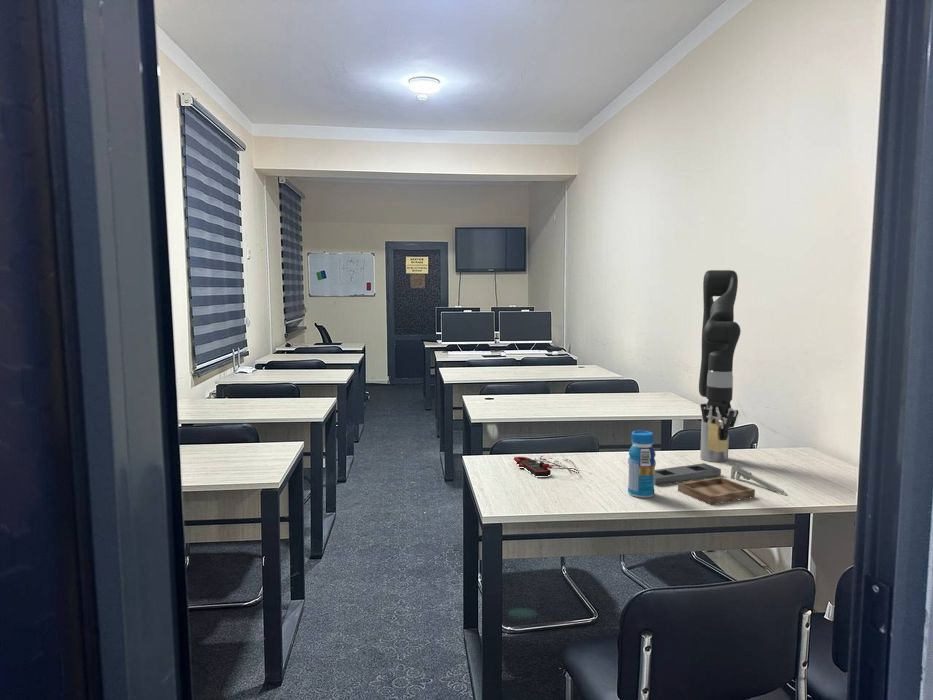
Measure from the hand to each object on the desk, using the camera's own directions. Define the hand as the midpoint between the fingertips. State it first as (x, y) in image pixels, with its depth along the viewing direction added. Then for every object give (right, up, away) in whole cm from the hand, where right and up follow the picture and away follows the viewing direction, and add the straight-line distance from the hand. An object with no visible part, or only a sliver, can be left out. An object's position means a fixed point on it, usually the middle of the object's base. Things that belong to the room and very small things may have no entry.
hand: (717, 438), depth 190 cm
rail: (-5, -16, +19) cm, 26 cm away
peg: (0, -4, 0) cm, 4 cm away
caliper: (+17, -18, +10) cm, 27 cm away
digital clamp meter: (-48, -16, +31) cm, 59 cm away
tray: (0, -18, +2) cm, 18 cm away
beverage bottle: (-24, -18, +2) cm, 30 cm away
